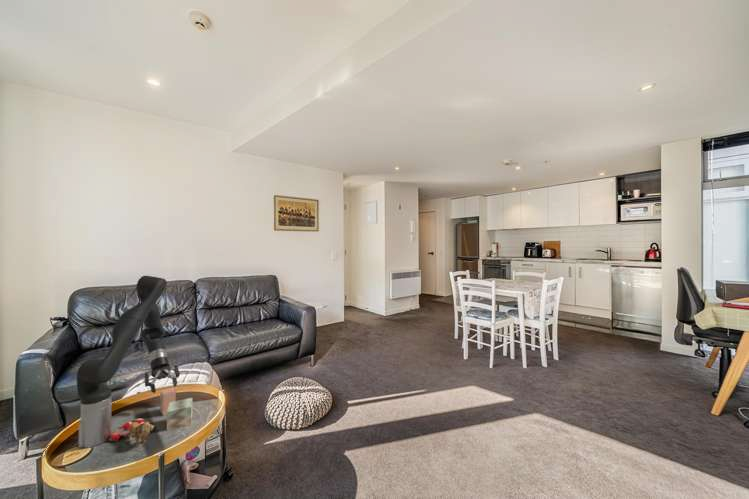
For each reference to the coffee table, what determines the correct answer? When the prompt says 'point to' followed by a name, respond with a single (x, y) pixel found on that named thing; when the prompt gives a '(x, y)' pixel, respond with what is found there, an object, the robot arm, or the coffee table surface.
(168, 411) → the sage green base block
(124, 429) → the race car
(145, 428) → the lion figurine
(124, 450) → the coffee table surface
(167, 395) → the terracotta brick
